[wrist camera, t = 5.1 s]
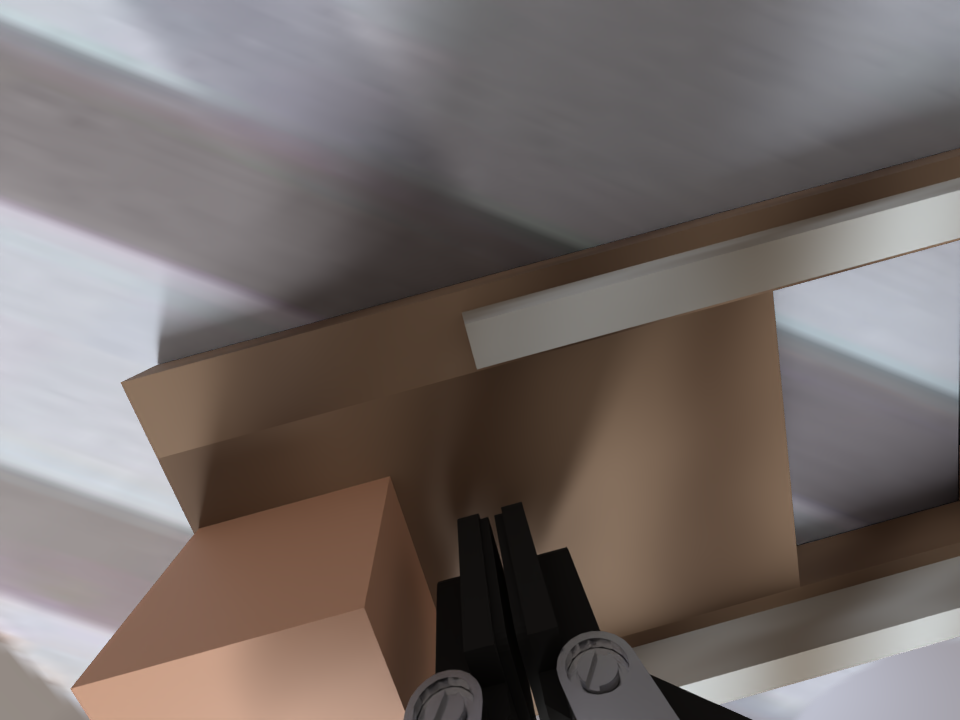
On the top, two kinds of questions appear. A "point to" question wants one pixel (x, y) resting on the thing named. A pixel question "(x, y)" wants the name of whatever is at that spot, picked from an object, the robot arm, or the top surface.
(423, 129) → the top surface
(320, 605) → the block
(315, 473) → the tan rectangular frame
